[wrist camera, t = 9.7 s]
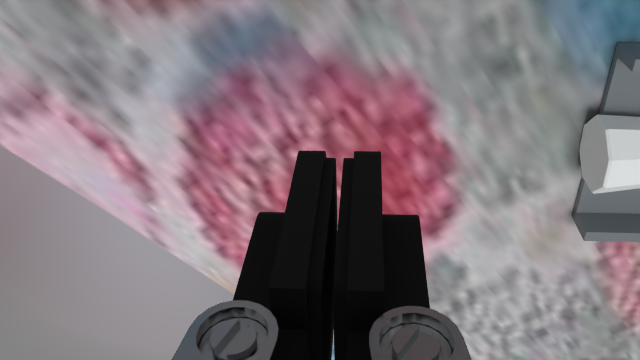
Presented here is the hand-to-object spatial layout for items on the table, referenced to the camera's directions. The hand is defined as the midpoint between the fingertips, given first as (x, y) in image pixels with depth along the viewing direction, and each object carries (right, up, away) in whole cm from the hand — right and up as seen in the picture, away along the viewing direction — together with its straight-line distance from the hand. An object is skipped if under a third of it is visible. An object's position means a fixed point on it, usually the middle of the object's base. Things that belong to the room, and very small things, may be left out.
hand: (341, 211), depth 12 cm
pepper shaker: (+18, +2, +26) cm, 32 cm away
